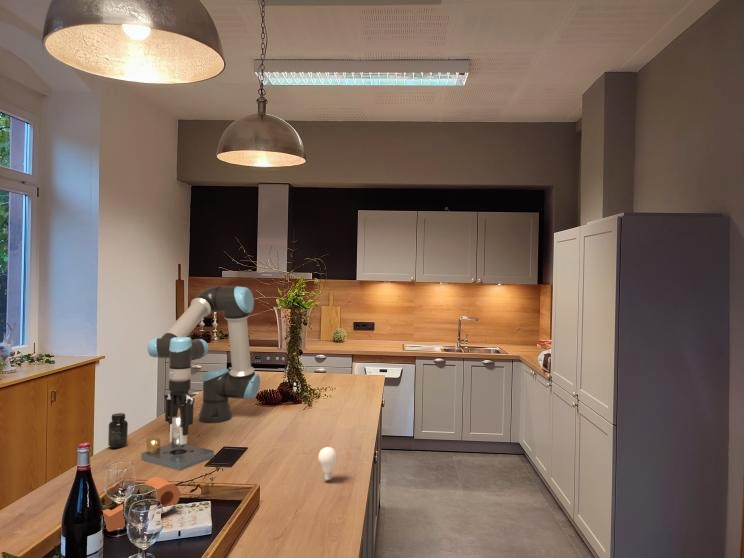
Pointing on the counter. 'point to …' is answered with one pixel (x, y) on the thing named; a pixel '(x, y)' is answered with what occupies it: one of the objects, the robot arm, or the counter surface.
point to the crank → (165, 494)
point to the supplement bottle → (118, 431)
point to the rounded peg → (176, 432)
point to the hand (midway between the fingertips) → (178, 442)
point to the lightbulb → (327, 461)
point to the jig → (175, 455)
